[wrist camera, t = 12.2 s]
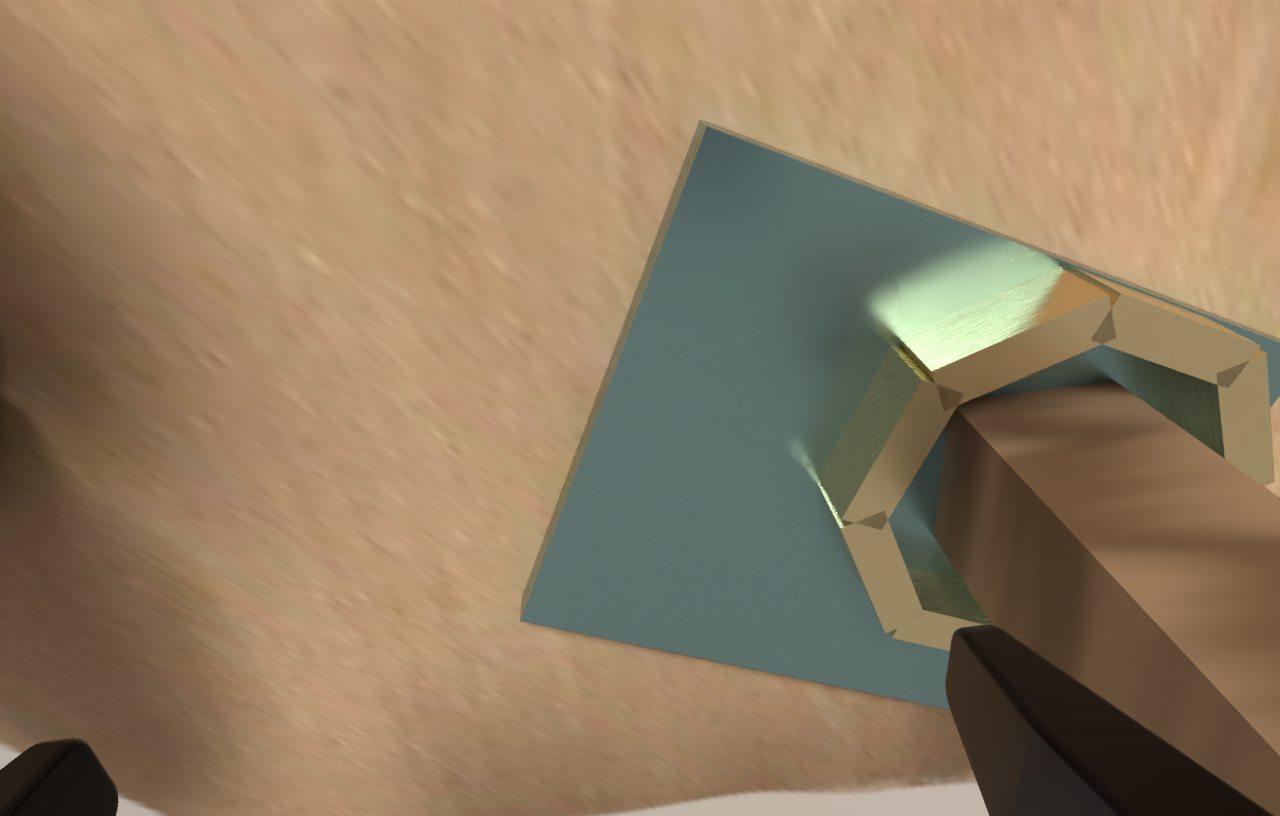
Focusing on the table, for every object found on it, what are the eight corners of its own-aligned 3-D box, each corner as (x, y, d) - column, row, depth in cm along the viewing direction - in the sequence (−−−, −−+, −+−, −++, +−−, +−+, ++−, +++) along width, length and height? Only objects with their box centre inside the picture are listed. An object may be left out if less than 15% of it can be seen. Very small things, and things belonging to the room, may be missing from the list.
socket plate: (521, 598, 24) (516, 672, 22) (700, 119, 18) (722, 141, 15) (1000, 700, 28) (1044, 773, 26) (1283, 340, 22) (1380, 387, 19)
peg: (933, 536, 23) (1351, 1160, 11) (949, 400, 21) (1498, 990, 8) (1084, 518, 23) (1667, 1114, 11) (1116, 381, 21) (1894, 935, 9)
